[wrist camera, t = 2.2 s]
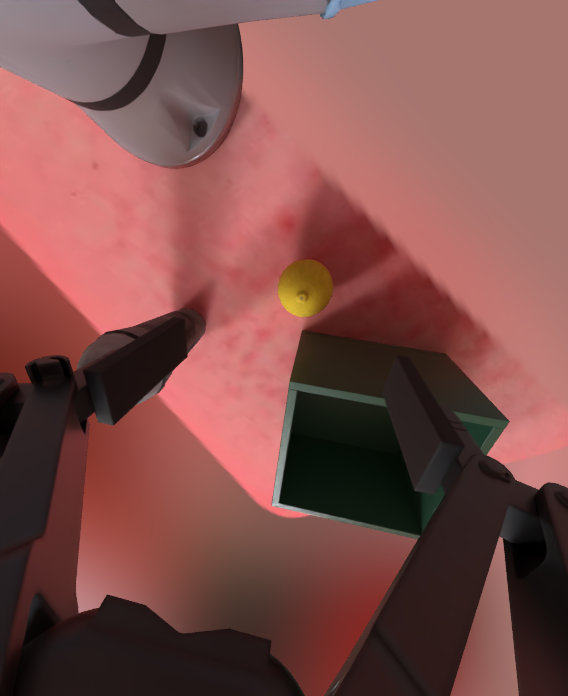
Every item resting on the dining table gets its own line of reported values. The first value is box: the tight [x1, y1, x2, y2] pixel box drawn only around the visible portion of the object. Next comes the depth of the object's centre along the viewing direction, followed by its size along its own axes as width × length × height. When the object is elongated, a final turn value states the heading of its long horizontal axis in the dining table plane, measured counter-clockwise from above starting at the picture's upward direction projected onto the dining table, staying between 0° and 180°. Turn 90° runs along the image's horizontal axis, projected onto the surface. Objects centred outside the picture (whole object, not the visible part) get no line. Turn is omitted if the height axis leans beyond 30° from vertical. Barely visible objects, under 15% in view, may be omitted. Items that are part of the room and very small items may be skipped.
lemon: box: [278, 259, 333, 317], centre depth 25 cm, size 6×6×8 cm
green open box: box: [272, 330, 510, 539], centre depth 29 cm, size 18×18×12 cm
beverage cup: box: [77, 308, 205, 405], centre depth 25 cm, size 7×7×20 cm
